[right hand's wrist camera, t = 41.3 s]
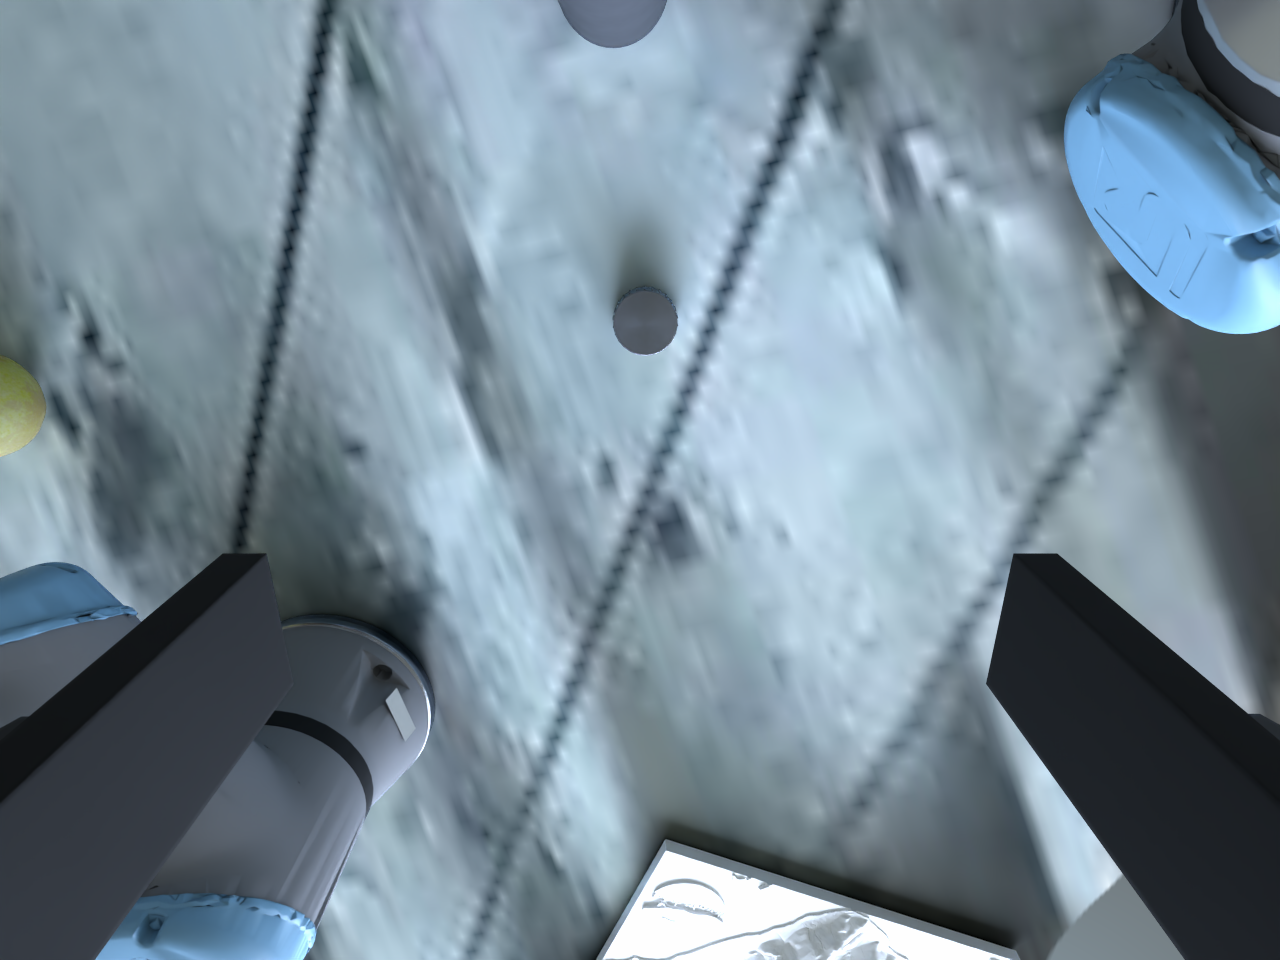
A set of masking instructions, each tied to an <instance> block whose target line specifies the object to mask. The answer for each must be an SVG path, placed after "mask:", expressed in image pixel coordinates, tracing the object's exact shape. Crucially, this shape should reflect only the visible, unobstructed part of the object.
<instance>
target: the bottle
mask: <svg viewBox="0 0 1280 960" xmlns="http://www.w3.org/2000/svg"><path fill="white" fill-rule="evenodd" d="M558 2H559V4H560V6H561V9H562V11H563V13H564V15H565V17H566V19H567V20H568V22H569V24H570V25H571V26H572V27H573V29H574V30H575V31H576V32H577V33H578V34H579V35H581V36H582V37H583V38H584V39H586V40H588V41H589V42H591V43H593V44H596V45H598V46H602V47H608V48H619V47H624V46H628V45H631V44H633V43H635V42H637V41H639V40H641V39H642V38H643V37H645V36H646V35H647V34H648V33H649V32H650V31H651V30H652V29H653V28H654V26H655V25H656V24H657V22H658V20H659V19H660V17H661V15H662V13H663V11H664V8H665V5H666V2H667V0H558Z"/></svg>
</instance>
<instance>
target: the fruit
mask: <svg viewBox="0 0 1280 960" xmlns="http://www.w3.org/2000/svg"><path fill="white" fill-rule="evenodd" d="M45 413H46V402H45V398H44V395H43V392H42V390H41V388H40V386H39V384H38V382H37V381H36V380H35V379H34V377H33V376H32V375H31V374H30V373H29V372H28V371H27V370H26V369H24V368H23V367H22V366H21V365H19V364H18V363H16V362H15V361H13V360H11V359H9V358H7V357H5V356H3V355H0V457H2V456H5V455H8V454H11V453H13V452H15V451H17V450H19V449H21V448H22V447H24V446H25V445H27V444H28V443H29V442H30V441H31V440H32V439H33V438H34V437H35V436H36V434H37V433H38V431H39V429H40V427H41V425H42V423H43V420H44V417H45Z"/></svg>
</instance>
